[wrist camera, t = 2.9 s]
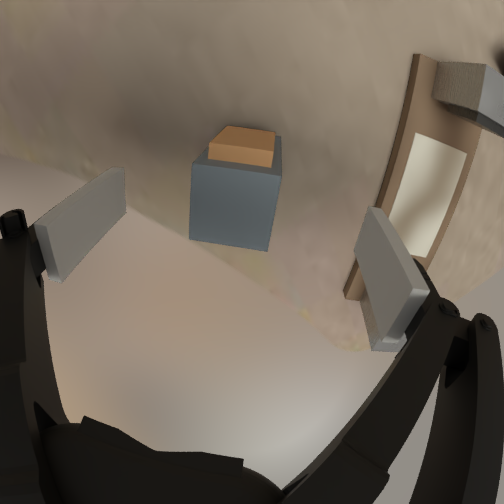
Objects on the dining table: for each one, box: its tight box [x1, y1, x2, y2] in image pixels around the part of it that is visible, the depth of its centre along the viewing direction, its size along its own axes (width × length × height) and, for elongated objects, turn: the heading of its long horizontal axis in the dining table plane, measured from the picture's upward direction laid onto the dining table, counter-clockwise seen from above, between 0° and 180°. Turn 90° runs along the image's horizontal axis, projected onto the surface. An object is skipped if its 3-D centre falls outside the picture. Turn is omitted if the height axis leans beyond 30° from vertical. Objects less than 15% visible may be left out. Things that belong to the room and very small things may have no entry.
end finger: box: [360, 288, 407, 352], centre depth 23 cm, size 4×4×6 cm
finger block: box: [189, 126, 282, 252], centre depth 17 cm, size 4×5×9 cm
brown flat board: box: [343, 54, 482, 301], centre depth 20 cm, size 7×22×1 cm, turn 172°
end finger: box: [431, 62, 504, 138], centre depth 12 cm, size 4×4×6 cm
